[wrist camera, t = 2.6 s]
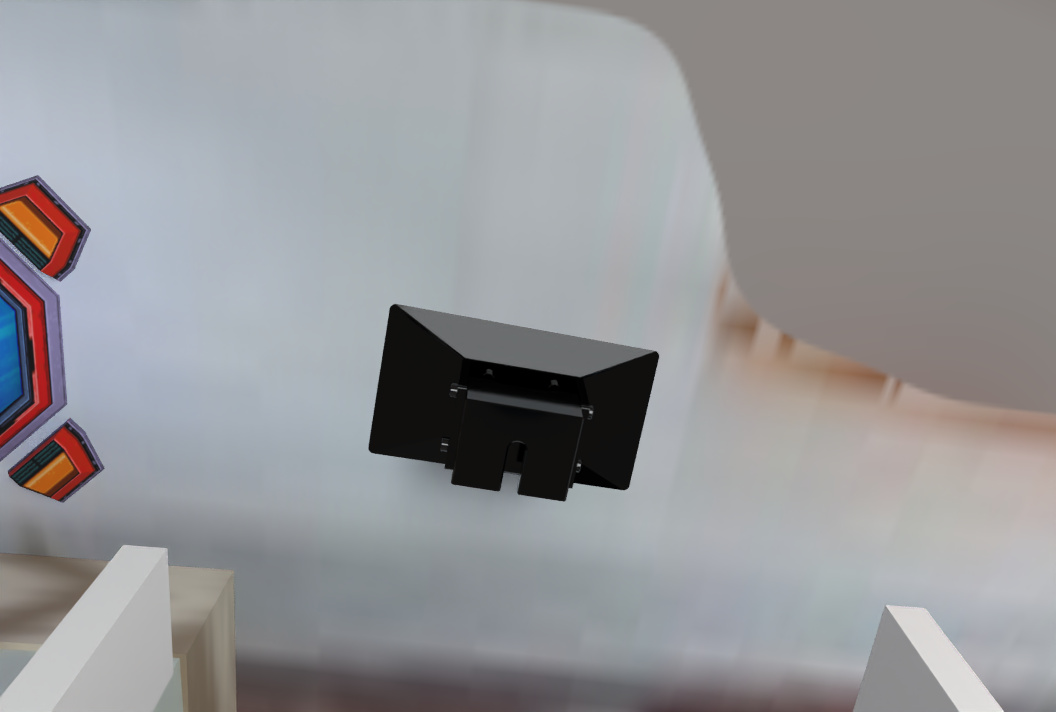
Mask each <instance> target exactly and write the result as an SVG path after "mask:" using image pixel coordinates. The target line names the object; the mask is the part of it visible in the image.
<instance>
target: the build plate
mask: <svg viewBox="0 0 1056 712" xmlns="http://www.w3.org/2000/svg"><path fill="white" fill-rule="evenodd" d="M658 359H659V354H658V353H657V352H656V351H652V350H646V349H641V348H635V347H630V346H624V345H619V344H613V343H608V342H602V341H597V340H591V339H586V338H580V337H575V336H569V335H564V334H558V333H553V332H547V331H542V330H536V329H531V328H525V327H520V326H514V325H509V324H503V323H498V322H492V321H487V320H481V319H476V318H470V317H465V316H459V315H454V314H448V313H442V312H437V311H431V310H426V309H420V308H415V307H409V306H404V305H398V304H394V305H392V306H391V307H390V311H389V318H388V324H387V330H386V337H385V343H384V350H383V356H382V363H381V369H380V376H379V382H378V389H377V395H376V402H375V408H374V415H373V421H372V428H371V434H370V441H369V451H370V452H371V453H375V454H382V455H388V456H395V457H402V458H409V459H415V460H422V461H429V462H436V463H442V464H445V468H444V469H450V470H453V472H452V479H451V483H452V484H454V485H460V486H467V487H473V488H480V489H486V490H493V491H500V488H501V483H502V478H503V473H510V474H517V475H520V476H519V481H518V486H517V493H518V494H519V495H525V496H532V497H538V498H545V499H551V500H558V501H566V497H567V493H568V488H572V487H573V483H578V484H585V485H591V486H598V487H605V488H612V489H618V490H626V489H628V488H629V485H630V480H631V476H632V472H633V467H634V463H635V459H636V454H637V450H638V446H639V441H640V437H641V433H642V428H643V424H644V420H645V415H646V411H647V407H648V402H649V398H650V394H651V390H652V385H653V381H654V377H655V372H656V368H657V364H658Z"/></svg>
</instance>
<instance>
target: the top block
mask: <svg viewBox="0 0 1056 712" xmlns="http://www.w3.org/2000/svg"><path fill="white" fill-rule="evenodd" d="M36 652H37V651H30V650H10V649H0V697H1V696H2V694H3V693H4V692H5V691H6V689H7V688H8V687H9V686H10V684H11V683H12V682H13V681H14V679H15V678H16V677H17V676H18V675H19V673H20V672H21V671H22V670H23V668H24V667H25V666H26V665H27V663H28V662H29V661H30V660H31V658H32V657H33V656H34V655H35V654H36ZM173 673H174V674H173V676H172V677H171V679H170V681H169V683H168V685H167V686H166V688H165V690H164V692H163V694H162V695H161V697H160V699H159V701H158V703H157V704H156V706H155V708H154V710H153V712H183V699H182V685H181V671H180V658H173Z"/></svg>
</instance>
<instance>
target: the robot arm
mask: <svg viewBox="0 0 1056 712" xmlns="http://www.w3.org/2000/svg"><path fill="white" fill-rule="evenodd" d="M173 674H174V673H173V652H172V632H171V611H170V591H169V571H168V550H167V548H156V547H144V546H131V545H123V546H122V547H121V548H120V550H119V551H118V552H117V553H116V555H115V556H114V557H113V558H112V559H111V561H110V562H109V563H108V564H107V566H106V567H105V568H104V569H103V571H102V572H101V573H100V574H99V576H98V577H97V578H96V579H95V581H94V582H93V583H92V584H91V585H90V587H89V588H88V589H87V590H86V592H85V593H84V594H83V595H82V597H81V598H80V599H79V600H78V602H77V603H76V604H75V605H74V607H73V608H72V609H71V610H70V611H69V613H68V614H67V615H66V616H65V618H64V619H63V620H62V621H61V623H60V624H59V625H58V626H57V628H56V629H55V630H54V631H53V632H52V634H51V635H50V636H49V637H48V639H47V640H46V641H45V642H44V644H43V645H42V646H41V647H40V649H39V650H38V651H37V652H36V654H35V655H34V656H33V657H32V658H31V660H30V661H29V662H28V663H27V665H26V666H25V667H24V668H23V670H22V671H21V672H20V673H19V675H18V676H17V677H16V678H15V679H14V681H13V682H12V683H11V684H10V686H9V687H8V688H7V689H6V691H5V692H4V693H3V694H2V696H1V697H0V712H153V710H154V708H155V706H156V704H157V703H158V701H159V699H160V697H161V695H162V694H163V692H164V690H165V688H166V686H167V685H168V683H169V681H170V679H171V677H172V676H173ZM853 712H1004V711H1003V710H1002V708H1001V707H1000V706H999V704H998V703H997V702H996V700H995V699H994V698H993V697H992V695H991V694H990V693H989V691H988V690H987V689H986V687H985V686H984V685H983V683H982V682H981V681H980V679H979V678H978V677H977V676H976V674H975V673H974V672H973V670H972V669H971V668H970V666H969V665H968V664H967V662H966V661H965V660H964V659H963V657H962V656H961V655H960V653H959V652H958V651H957V649H956V648H955V647H954V645H953V644H952V643H951V641H950V640H949V639H948V638H947V636H946V635H945V634H944V632H943V631H942V630H941V628H940V627H939V626H938V624H937V623H936V622H935V621H934V619H933V618H932V617H931V615H930V614H929V613H928V611H927V610H926V609H925V608H916V607H904V606H891V605H885V608H884V611H883V614H882V617H881V621H880V624H879V627H878V631H877V634H876V637H875V641H874V644H873V647H872V650H871V654H870V657H869V660H868V664H867V667H866V670H865V674H864V677H863V680H862V683H861V687H860V690H859V693H858V697H857V700H856V703H855V707H854V710H853Z"/></svg>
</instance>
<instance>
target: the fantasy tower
mask: <svg viewBox="0 0 1056 712" xmlns="http://www.w3.org/2000/svg"><path fill="white" fill-rule="evenodd" d="M90 231H91V229H90V228H89V227H88V226H87V225H86V224H85V223H84V222H83V221H82V220H81V219H80V218H79V216H78V215H77V214H76V213H75V212H74V211H73V210H72V209H71V208H70V207H69V206H68V205H67V204H66V203H65V202H64V201H63V200H62V199H61V198H60V197H59V196H58V195H57V194H56V193H55V192H54V191H53V190H52V189H51V188H50V187H49V186H48V185H47V184H46V183H45V182H44V181H43V180H42V179H41V178H40V177H39V176H38V175H37V176H34V177H31V178H28V179H25V180H22V181H19V182H16V183H13V184H10V185H7V186H4V187H1V188H0V232H1V233H2V234H3V235H4V236H5V237H6V238H7V239H8V240H9V241H10V242H11V243H12V244H13V245H14V246H15V247H16V248H17V249H18V250H19V251H20V252H21V253H22V254H23V255H24V256H25V257H26V258H28V259H29V260H30V261H31V262H32V263H33V264H34V265H35V266H36V267H37V268H38V269H39V270H40V271H41V272H43V273H45V274H47V275H49V276H51V277H53V278H55V279H57V280H59V281H62V280H63V279H64V278H65V277H66V276H67V275H68V274H70V273H71V272H72V271H73V270H74V269H75V266H76V264H77V262H78V259H79V257H80V254H81V252H82V250H83V247H84V245H85V243H86V240H87V238H88V236H89V233H90ZM66 405H67V396H66V382H65V368H64V353H63V339H62V325H61V311H60V297H59V295H58V294H57V293H56V292H55V291H54V290H53V289H52V288H51V287H50V286H49V285H48V284H47V283H46V282H45V281H44V280H43V279H42V278H41V277H40V276H39V275H37V274H36V273H35V272H34V271H33V270H32V269H31V268H30V267H29V266H28V265H27V264H26V263H25V262H24V261H23V260H22V259H21V258H20V257H19V256H18V255H17V254H16V253H15V252H14V251H13V250H12V249H11V248H10V247H9V246H8V245H7V244H6V243H5V242H4V241H3V240H2V239H1V238H0V461H2V460H3V459H4V458H5V457H6V456H7V455H9V454H10V453H11V452H12V451H13V450H14V449H16V448H17V447H18V446H19V445H20V444H21V443H23V442H24V441H25V440H26V439H27V438H28V437H30V436H31V435H32V434H33V433H34V432H35V431H37V430H38V429H39V428H40V427H41V426H42V425H44V424H45V423H46V422H47V421H48V420H49V419H51V418H52V417H53V416H54V415H55V414H56V413H58V412H59V411H60V410H61V409H62V408H63V407H65V406H66ZM103 469H105V468H104V466H103V465H102V463H101V461H100V459H99V457H98V455H97V453H96V452H95V450H94V448H93V446H92V444H91V442H90V440H89V439H88V437H87V435H86V433H85V431H84V430H83V429H82V428H81V427H79V426H78V425H77V424H76V423H75V422H74V421H73V420H72V419H71V418H70V419H68V420H67V421H66V422H65V423H64V424H62V425H61V426H60V427H59V428H58V429H57V430H55V431H54V432H53V433H52V434H51V435H50V436H48V437H47V438H46V439H45V440H44V441H42V442H41V443H40V444H39V445H38V446H37V447H35V448H34V449H33V450H32V451H31V452H30V453H28V454H27V455H26V456H25V457H24V458H22V459H21V460H20V461H19V462H18V463H17V464H15V465H14V466H13V467H12V468H11V469H10V470H8V474H9V477H10V478H11V479H13V480H14V481H15V482H16V483H17V484H18V485H19V486H21V487H24V488H26V489H29V490H31V491H34V492H37V493H39V494H42V495H45V496H47V497H50V498H53V499H55V500H58V501H60V502H65V501H66V500H67V499H68V498H69V497H71V496H72V495H73V494H74V493H76V492H77V491H78V490H79V489H80V488H82V487H83V486H84V485H85V484H86V483H88V482H89V481H90V480H91V479H93V478H94V477H95V476H96V475H97V474H99V473H100V472H101V471H102V470H103Z"/></svg>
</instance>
